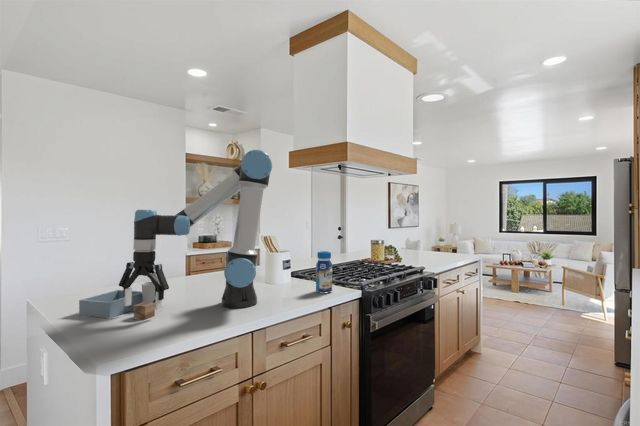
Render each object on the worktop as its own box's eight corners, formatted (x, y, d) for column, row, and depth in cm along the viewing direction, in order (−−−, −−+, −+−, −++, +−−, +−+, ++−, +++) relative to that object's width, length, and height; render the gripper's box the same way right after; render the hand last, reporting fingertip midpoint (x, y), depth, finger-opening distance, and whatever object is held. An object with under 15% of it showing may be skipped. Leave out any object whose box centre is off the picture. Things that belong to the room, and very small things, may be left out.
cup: (154, 310, 146) (154, 285, 146) (137, 309, 148) (137, 284, 148) (167, 305, 154) (167, 281, 154) (150, 304, 156) (150, 280, 156)
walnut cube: (154, 316, 138) (154, 303, 138) (145, 320, 134) (145, 306, 134) (143, 315, 140) (143, 302, 140) (133, 318, 135) (134, 305, 135)
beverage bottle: (321, 289, 187) (322, 250, 187) (335, 291, 182) (335, 251, 182) (312, 292, 180) (312, 252, 180) (326, 294, 175) (326, 253, 175)
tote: (145, 305, 153) (145, 291, 153) (109, 318, 135) (109, 302, 135) (118, 303, 157) (118, 289, 157) (79, 315, 138) (79, 300, 138)
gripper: (179, 251, 137) (178, 307, 137) (124, 248, 143) (123, 301, 143) (166, 253, 130) (165, 312, 130) (109, 249, 136) (107, 306, 136)
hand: (143, 307), depth 136 cm, fingers open, 13 cm apart
